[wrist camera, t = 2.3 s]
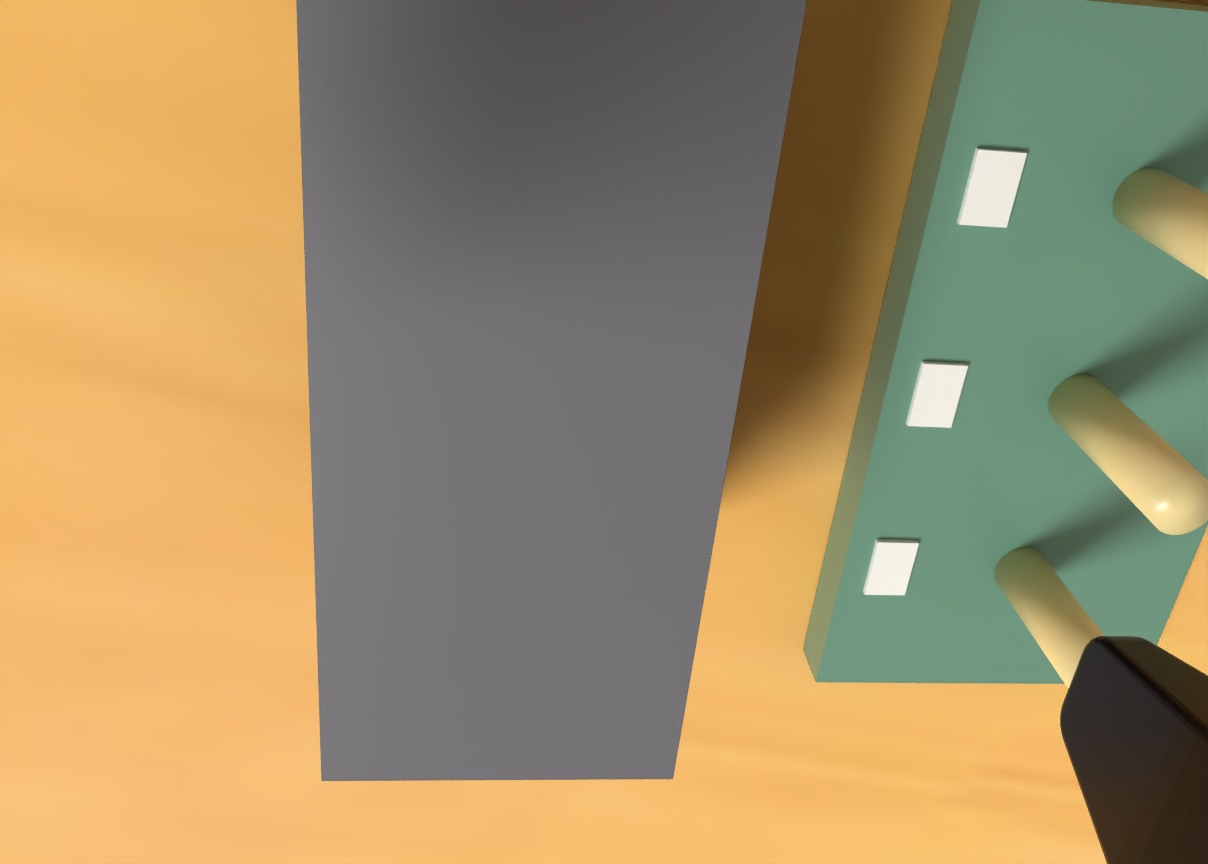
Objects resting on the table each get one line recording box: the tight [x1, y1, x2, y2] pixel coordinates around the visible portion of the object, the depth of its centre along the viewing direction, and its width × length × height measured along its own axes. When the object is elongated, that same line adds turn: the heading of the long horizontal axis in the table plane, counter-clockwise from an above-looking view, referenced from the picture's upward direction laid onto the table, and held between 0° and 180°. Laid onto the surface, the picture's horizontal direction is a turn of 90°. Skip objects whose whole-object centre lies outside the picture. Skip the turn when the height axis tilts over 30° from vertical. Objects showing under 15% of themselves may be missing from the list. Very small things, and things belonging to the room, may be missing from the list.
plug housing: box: [296, 0, 807, 781], centre depth 16 cm, size 12×5×6 cm, turn 175°
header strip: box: [803, 0, 1208, 689], centre depth 19 cm, size 13×7×4 cm, turn 175°
